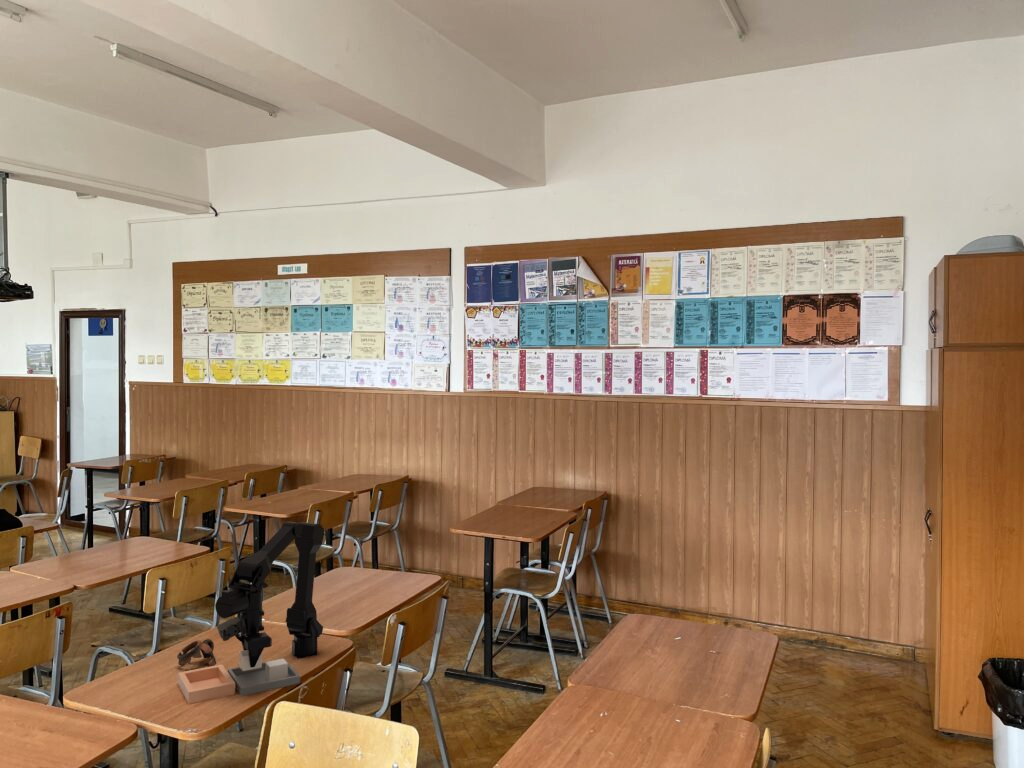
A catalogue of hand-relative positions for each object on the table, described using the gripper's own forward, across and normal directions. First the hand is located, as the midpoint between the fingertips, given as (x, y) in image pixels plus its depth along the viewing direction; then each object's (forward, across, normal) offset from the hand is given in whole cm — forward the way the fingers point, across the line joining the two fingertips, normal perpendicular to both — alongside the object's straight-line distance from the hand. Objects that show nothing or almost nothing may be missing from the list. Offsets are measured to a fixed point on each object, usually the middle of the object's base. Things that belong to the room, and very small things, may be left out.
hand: (250, 664), depth 205 cm
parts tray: (+6, 0, +4) cm, 7 cm away
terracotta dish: (+6, -2, -11) cm, 12 cm away
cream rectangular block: (+1, 0, 0) cm, 1 cm away
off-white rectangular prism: (+5, 0, +7) cm, 9 cm away
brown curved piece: (+6, -21, -9) cm, 23 cm away
